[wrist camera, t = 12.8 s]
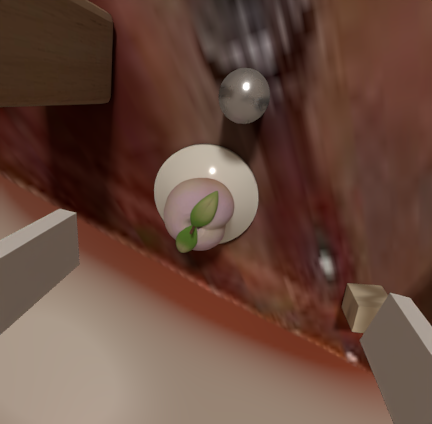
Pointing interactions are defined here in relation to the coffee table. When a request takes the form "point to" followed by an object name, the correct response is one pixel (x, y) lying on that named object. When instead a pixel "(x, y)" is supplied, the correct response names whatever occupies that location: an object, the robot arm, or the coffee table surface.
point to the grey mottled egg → (244, 95)
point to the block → (54, 53)
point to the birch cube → (362, 305)
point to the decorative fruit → (198, 213)
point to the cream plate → (214, 169)
